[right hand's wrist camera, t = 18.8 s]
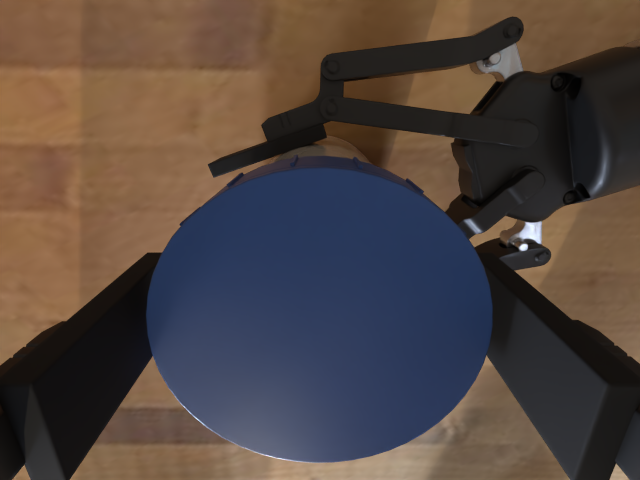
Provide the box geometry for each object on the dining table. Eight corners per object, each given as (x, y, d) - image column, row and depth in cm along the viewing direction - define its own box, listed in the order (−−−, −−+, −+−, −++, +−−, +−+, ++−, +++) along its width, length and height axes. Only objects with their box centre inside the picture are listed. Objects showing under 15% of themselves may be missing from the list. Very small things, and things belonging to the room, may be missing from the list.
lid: (441, 414, 14) (462, 467, 12) (187, 407, 14) (164, 460, 12) (493, 161, 11) (535, 173, 9) (155, 148, 11) (115, 158, 8)
